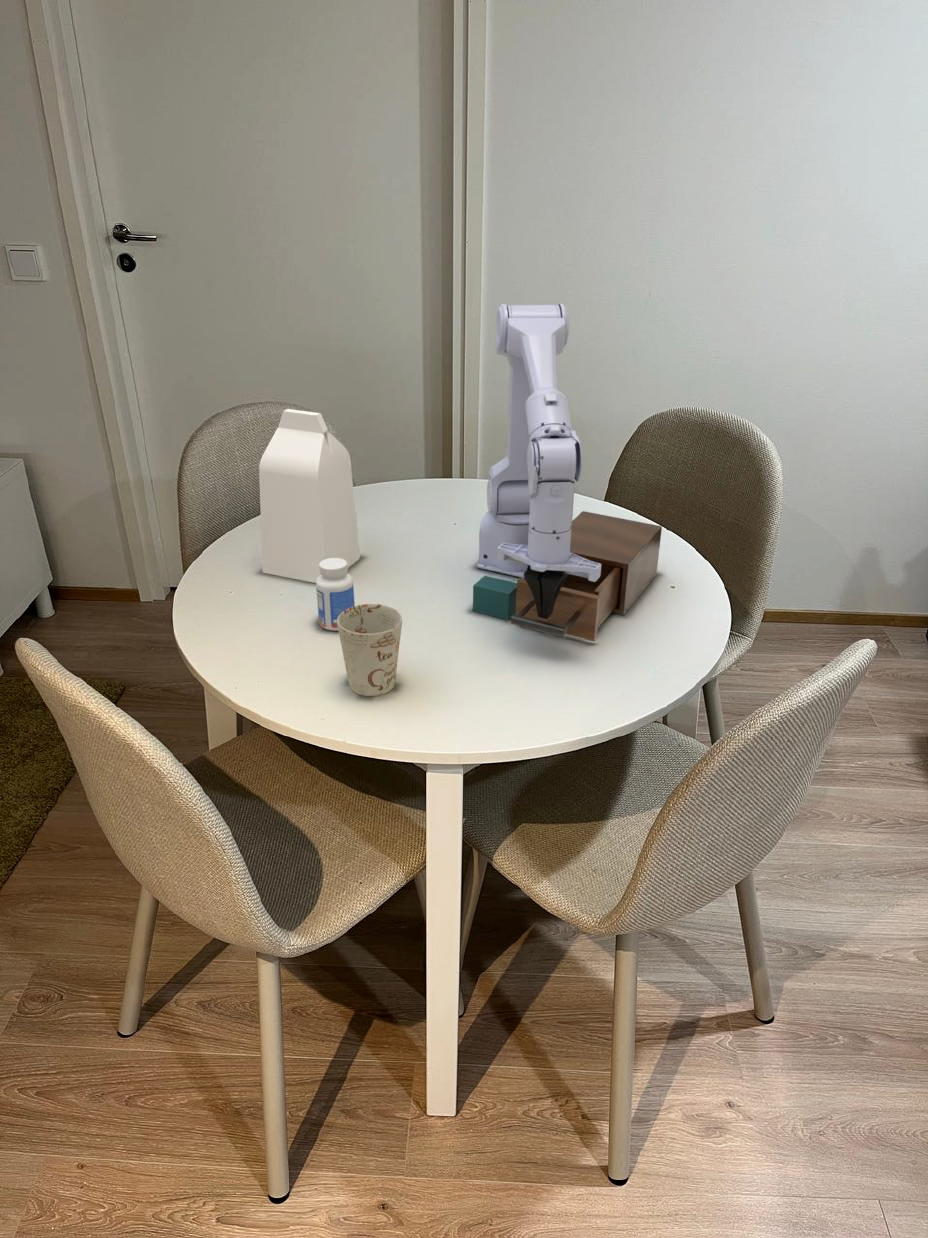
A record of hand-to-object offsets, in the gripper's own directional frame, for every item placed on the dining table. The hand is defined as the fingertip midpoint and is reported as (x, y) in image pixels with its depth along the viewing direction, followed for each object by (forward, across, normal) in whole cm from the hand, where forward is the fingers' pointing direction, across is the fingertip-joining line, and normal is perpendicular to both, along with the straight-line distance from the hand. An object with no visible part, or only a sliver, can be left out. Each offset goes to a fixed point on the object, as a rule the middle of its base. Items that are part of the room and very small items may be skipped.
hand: (545, 615), depth 137 cm
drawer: (+4, 0, +8) cm, 9 cm away
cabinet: (+5, 0, +23) cm, 24 cm away
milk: (+6, -45, +7) cm, 46 cm away
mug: (+6, -18, -19) cm, 27 cm away
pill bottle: (+6, -30, -8) cm, 31 cm away
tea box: (+5, -11, +7) cm, 14 cm away
